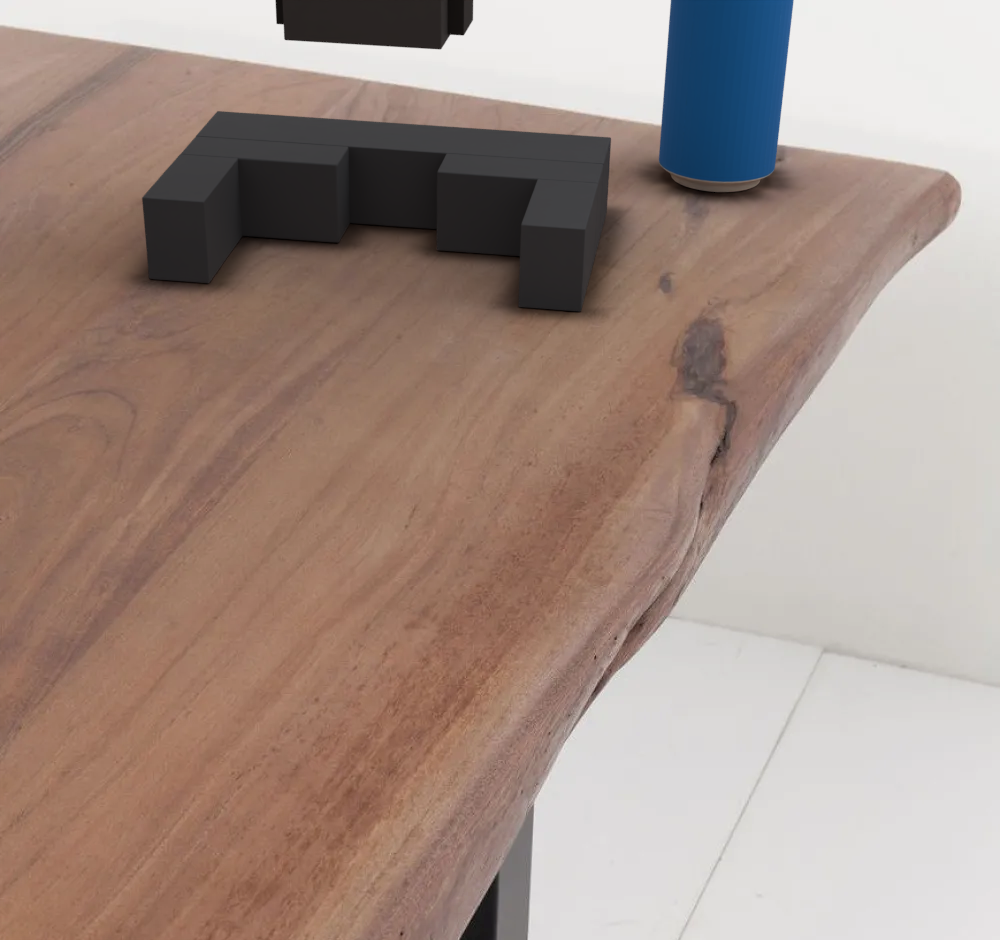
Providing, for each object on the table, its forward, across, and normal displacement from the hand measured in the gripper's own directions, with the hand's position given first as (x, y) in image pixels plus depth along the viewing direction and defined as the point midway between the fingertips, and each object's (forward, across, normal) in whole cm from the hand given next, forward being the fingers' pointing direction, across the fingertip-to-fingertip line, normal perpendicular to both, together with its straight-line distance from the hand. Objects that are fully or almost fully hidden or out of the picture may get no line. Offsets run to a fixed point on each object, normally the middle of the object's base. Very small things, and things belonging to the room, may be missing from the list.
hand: (375, 21), depth 85 cm
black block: (0, 0, 0) cm, 0 cm away
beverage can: (+12, +15, +19) cm, 27 cm away
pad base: (+12, 0, +5) cm, 13 cm away
